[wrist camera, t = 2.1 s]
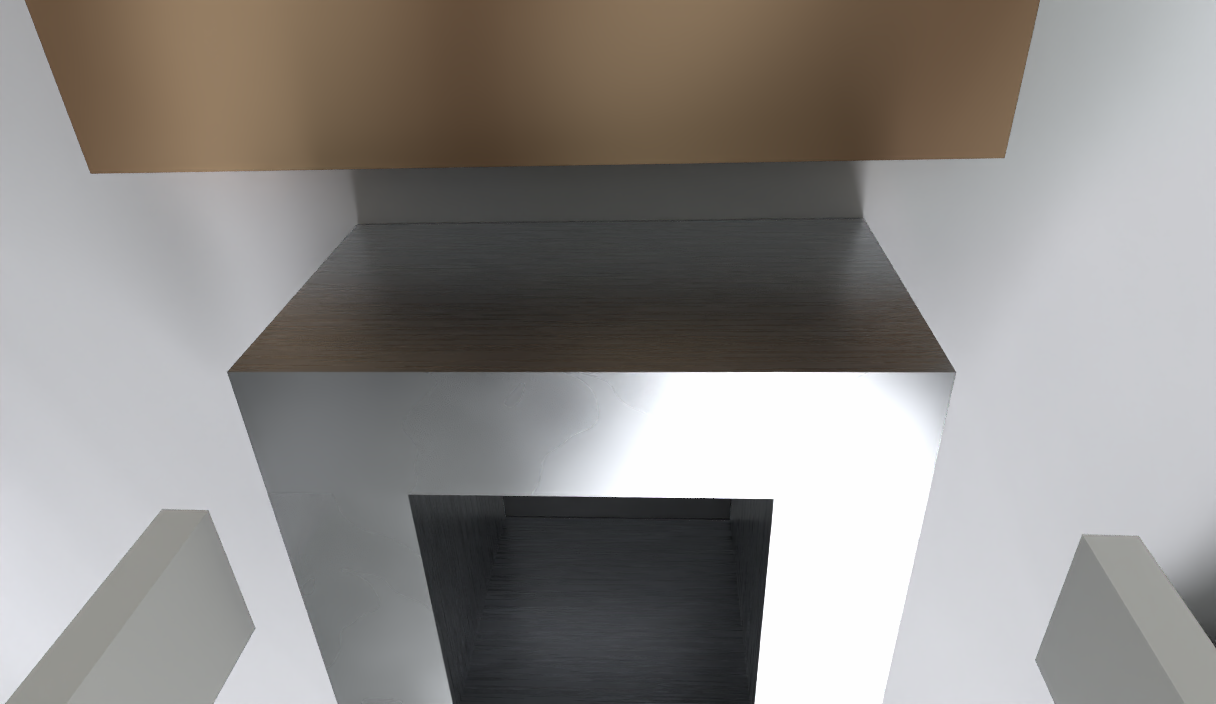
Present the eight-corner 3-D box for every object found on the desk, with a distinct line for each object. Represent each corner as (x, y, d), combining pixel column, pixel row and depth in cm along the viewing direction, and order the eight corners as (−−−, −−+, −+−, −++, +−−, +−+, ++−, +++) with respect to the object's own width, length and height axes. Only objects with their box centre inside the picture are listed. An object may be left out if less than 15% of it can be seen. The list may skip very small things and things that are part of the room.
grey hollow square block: (431, 578, 19) (364, 783, 15) (357, 224, 14) (227, 371, 10) (813, 586, 18) (860, 801, 14) (863, 218, 14) (956, 372, 9)
